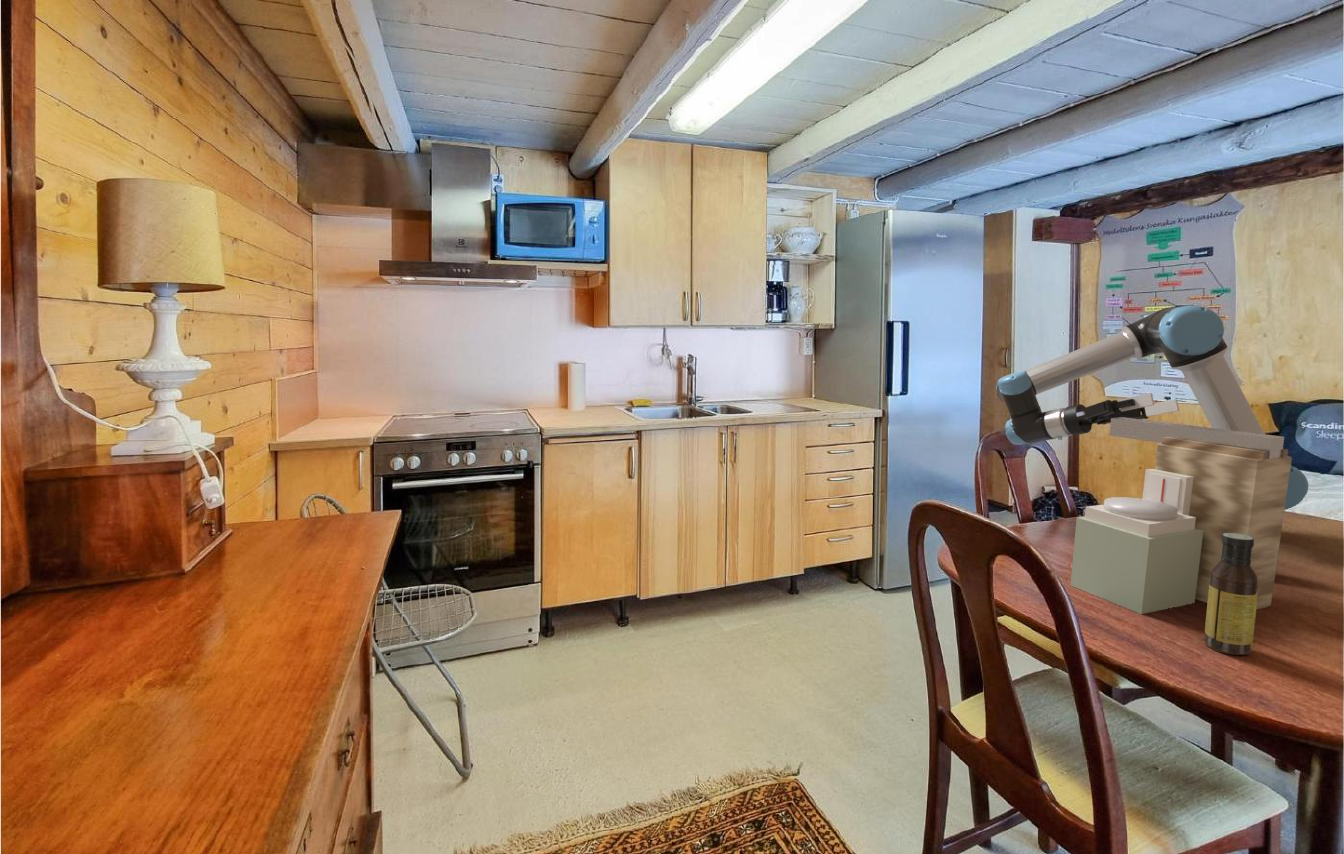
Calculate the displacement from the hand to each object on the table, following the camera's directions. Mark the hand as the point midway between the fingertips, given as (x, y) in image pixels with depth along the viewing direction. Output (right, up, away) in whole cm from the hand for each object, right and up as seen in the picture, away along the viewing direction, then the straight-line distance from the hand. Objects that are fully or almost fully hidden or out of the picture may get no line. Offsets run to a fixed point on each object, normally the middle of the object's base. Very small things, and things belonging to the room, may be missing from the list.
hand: (1165, 402), depth 149 cm
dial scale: (-19, -25, -18) cm, 37 cm away
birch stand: (-4, -40, -15) cm, 43 cm away
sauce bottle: (-19, -44, -38) cm, 61 cm away
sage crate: (-19, -40, -16) cm, 47 cm away
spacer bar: (-6, -10, -14) cm, 18 cm away
